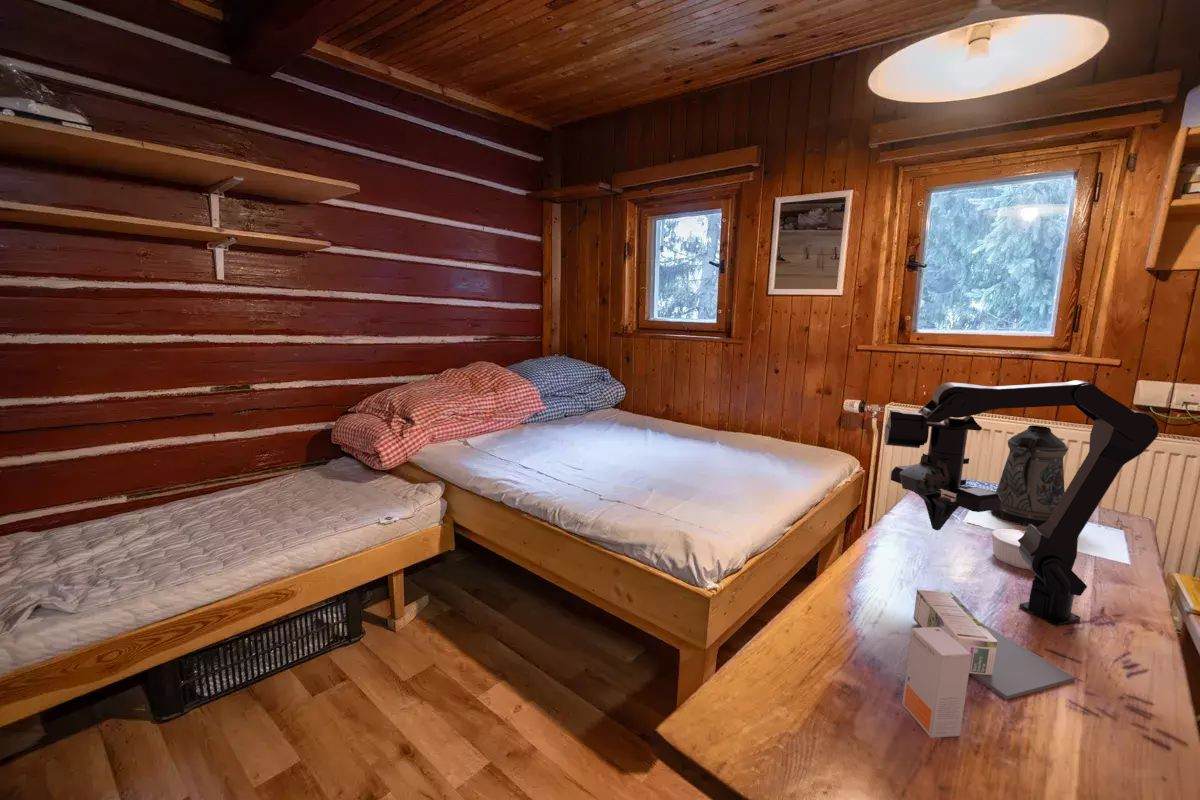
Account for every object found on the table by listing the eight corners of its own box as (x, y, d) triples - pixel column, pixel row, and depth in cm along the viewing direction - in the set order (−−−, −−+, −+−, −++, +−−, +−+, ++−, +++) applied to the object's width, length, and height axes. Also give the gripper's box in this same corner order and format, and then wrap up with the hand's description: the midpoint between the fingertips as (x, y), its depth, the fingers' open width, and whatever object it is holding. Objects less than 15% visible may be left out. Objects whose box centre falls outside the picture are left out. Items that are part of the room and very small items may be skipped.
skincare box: (900, 705, 74) (910, 626, 72) (929, 703, 75) (939, 625, 73) (930, 739, 69) (942, 655, 66) (961, 738, 69) (974, 654, 67)
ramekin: (1063, 566, 116) (1067, 544, 115) (1035, 577, 111) (1039, 553, 110) (1006, 546, 126) (1009, 525, 125) (978, 555, 121) (981, 533, 120)
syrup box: (946, 621, 94) (995, 677, 80) (911, 618, 95) (953, 672, 80) (951, 591, 93) (1001, 642, 79) (915, 588, 94) (958, 638, 79)
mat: (972, 621, 95) (973, 618, 95) (1074, 680, 80) (1075, 677, 80) (911, 634, 91) (911, 631, 91) (1006, 699, 76) (1006, 695, 76)
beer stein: (1060, 514, 146) (1075, 425, 142) (1075, 539, 130) (1093, 439, 126) (986, 502, 155) (999, 417, 151) (992, 524, 139) (1006, 430, 135)
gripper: (872, 441, 106) (865, 515, 109) (960, 468, 89) (948, 556, 91) (916, 438, 109) (908, 510, 112) (1009, 463, 92) (996, 548, 95)
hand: (936, 529), depth 102 cm, fingers closed
